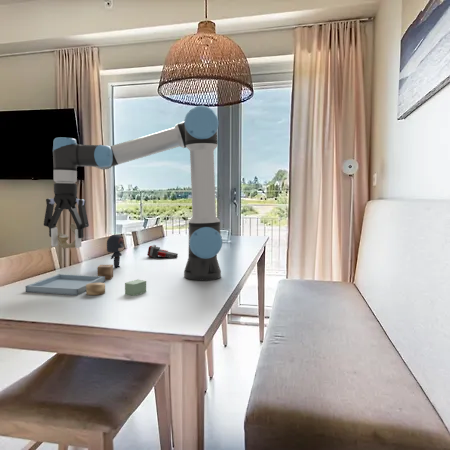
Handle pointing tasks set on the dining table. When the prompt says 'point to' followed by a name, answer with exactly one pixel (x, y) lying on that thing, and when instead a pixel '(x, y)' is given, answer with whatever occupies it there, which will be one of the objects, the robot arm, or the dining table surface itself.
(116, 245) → the toy
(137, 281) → the green painted block
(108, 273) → the walnut cube
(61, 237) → the beige curved figurine
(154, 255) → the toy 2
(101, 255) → the dining table surface
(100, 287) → the oak disc
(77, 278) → the tray
